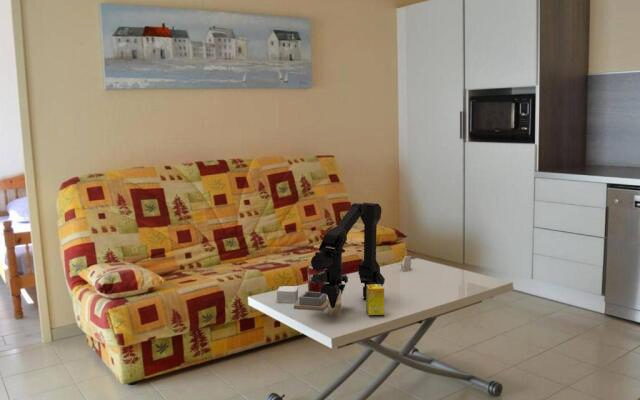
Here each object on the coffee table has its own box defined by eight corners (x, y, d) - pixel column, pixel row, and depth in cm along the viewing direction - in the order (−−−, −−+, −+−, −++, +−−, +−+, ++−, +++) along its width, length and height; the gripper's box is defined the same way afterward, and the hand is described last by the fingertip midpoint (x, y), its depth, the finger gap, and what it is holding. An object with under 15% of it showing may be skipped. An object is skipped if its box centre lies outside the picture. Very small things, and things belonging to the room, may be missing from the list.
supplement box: (365, 312, 228) (365, 284, 226) (381, 311, 228) (381, 283, 227) (368, 317, 222) (368, 288, 220) (384, 316, 222) (384, 288, 221)
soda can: (323, 297, 248) (323, 269, 246) (306, 296, 249) (306, 268, 248) (326, 292, 255) (326, 264, 253) (310, 291, 256) (309, 264, 255)
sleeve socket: (331, 301, 241) (331, 291, 240) (323, 310, 230) (323, 300, 229) (303, 299, 244) (303, 289, 244) (293, 308, 233) (293, 298, 232)
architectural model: (398, 271, 290) (398, 256, 289) (406, 269, 295) (406, 254, 294) (404, 272, 288) (404, 257, 287) (412, 270, 293) (412, 255, 292)
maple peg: (342, 312, 228) (342, 289, 227) (339, 316, 223) (339, 292, 222) (330, 311, 229) (329, 288, 228) (326, 315, 225) (326, 291, 223)
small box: (295, 303, 240) (295, 291, 239) (276, 303, 240) (276, 291, 240) (298, 298, 247) (298, 286, 247) (279, 297, 248) (279, 285, 247)
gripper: (320, 259, 235) (321, 297, 237) (306, 270, 217) (306, 311, 219) (348, 260, 232) (348, 299, 234) (335, 272, 214) (336, 314, 216)
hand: (334, 305), depth 226 cm, fingers closed on maple peg, 5 cm apart
